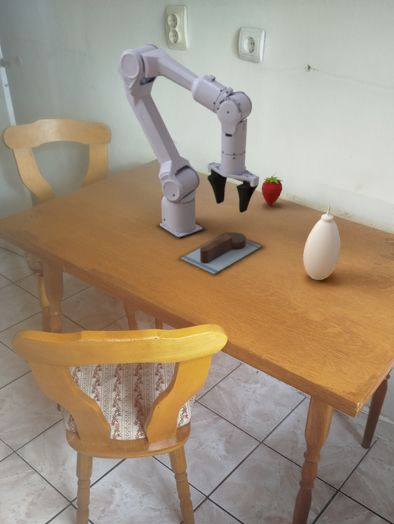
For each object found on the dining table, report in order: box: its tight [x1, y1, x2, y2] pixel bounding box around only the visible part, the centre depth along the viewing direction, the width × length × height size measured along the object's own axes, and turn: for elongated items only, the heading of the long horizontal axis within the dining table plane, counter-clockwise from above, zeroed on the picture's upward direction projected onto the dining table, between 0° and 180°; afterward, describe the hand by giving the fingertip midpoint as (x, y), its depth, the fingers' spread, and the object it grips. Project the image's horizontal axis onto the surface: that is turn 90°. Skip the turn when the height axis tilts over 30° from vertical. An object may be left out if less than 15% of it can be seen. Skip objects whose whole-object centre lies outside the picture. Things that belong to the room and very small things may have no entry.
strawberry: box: [261, 172, 283, 207], centre depth 145 cm, size 6×8×10 cm
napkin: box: [180, 232, 262, 275], centre depth 126 cm, size 11×18×1 cm, turn 137°
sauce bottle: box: [302, 203, 341, 281], centre depth 111 cm, size 8×8×18 cm
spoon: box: [199, 231, 247, 264], centre depth 125 cm, size 15×6×3 cm, turn 137°
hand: (231, 206), depth 125 cm, fingers open, 7 cm apart
